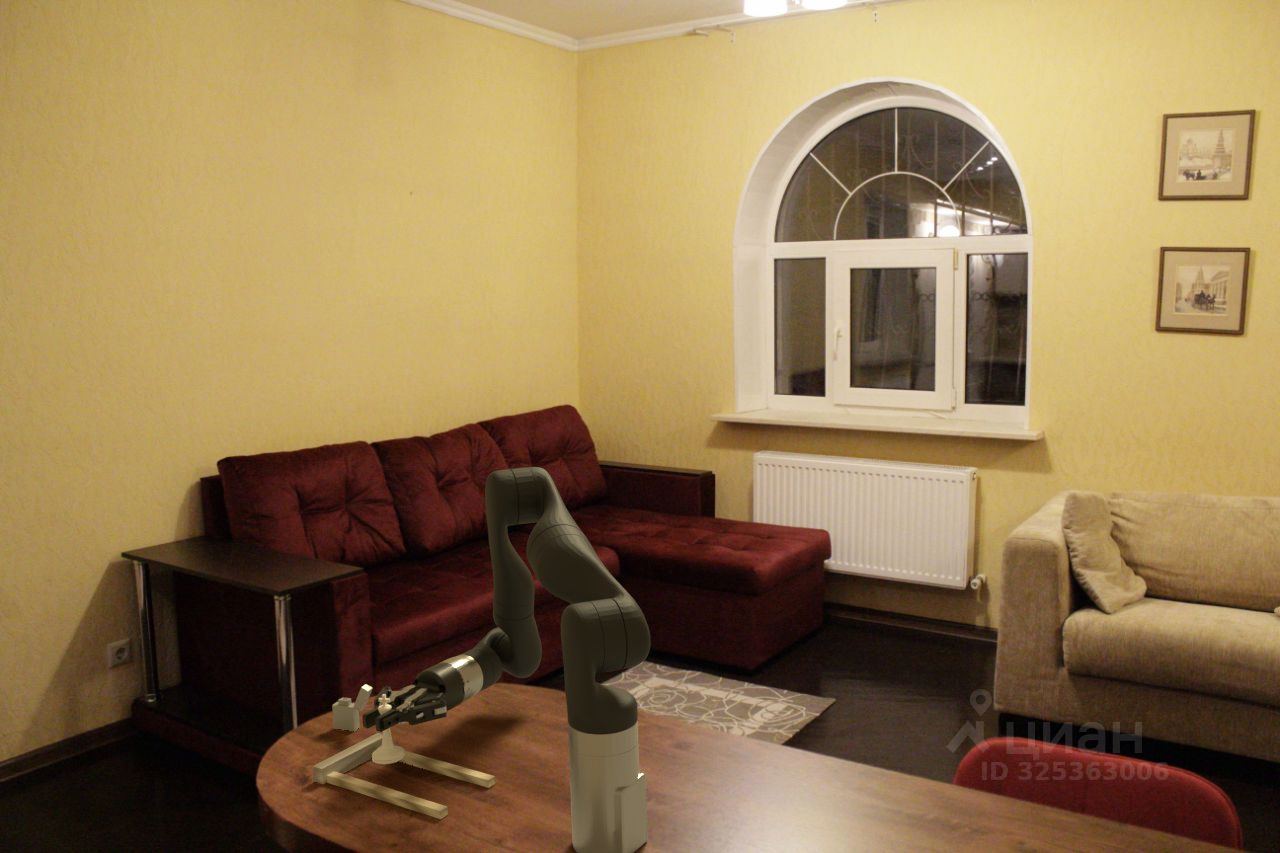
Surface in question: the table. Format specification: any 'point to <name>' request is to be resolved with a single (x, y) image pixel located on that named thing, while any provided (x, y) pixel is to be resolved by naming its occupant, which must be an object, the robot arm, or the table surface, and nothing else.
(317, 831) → the table surface
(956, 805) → the table surface
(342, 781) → the track
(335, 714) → the lighter
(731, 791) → the table surface
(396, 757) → the chess piece
